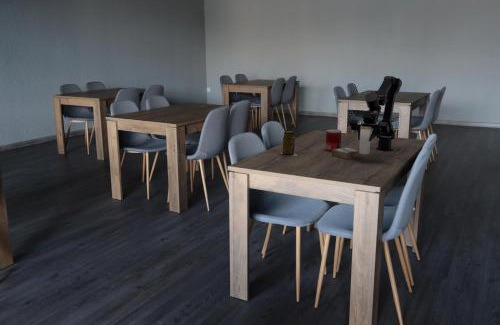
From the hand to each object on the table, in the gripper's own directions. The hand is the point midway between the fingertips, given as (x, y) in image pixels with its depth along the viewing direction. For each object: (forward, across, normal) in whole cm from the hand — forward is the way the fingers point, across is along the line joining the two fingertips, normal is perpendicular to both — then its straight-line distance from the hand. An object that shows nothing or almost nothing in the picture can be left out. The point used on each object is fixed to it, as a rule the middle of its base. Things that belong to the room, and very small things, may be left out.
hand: (364, 140), depth 222 cm
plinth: (+2, -12, +13) cm, 18 cm away
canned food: (-4, -22, +20) cm, 30 cm away
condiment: (+12, -38, +4) cm, 40 cm away
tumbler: (+4, 0, +6) cm, 7 cm away
